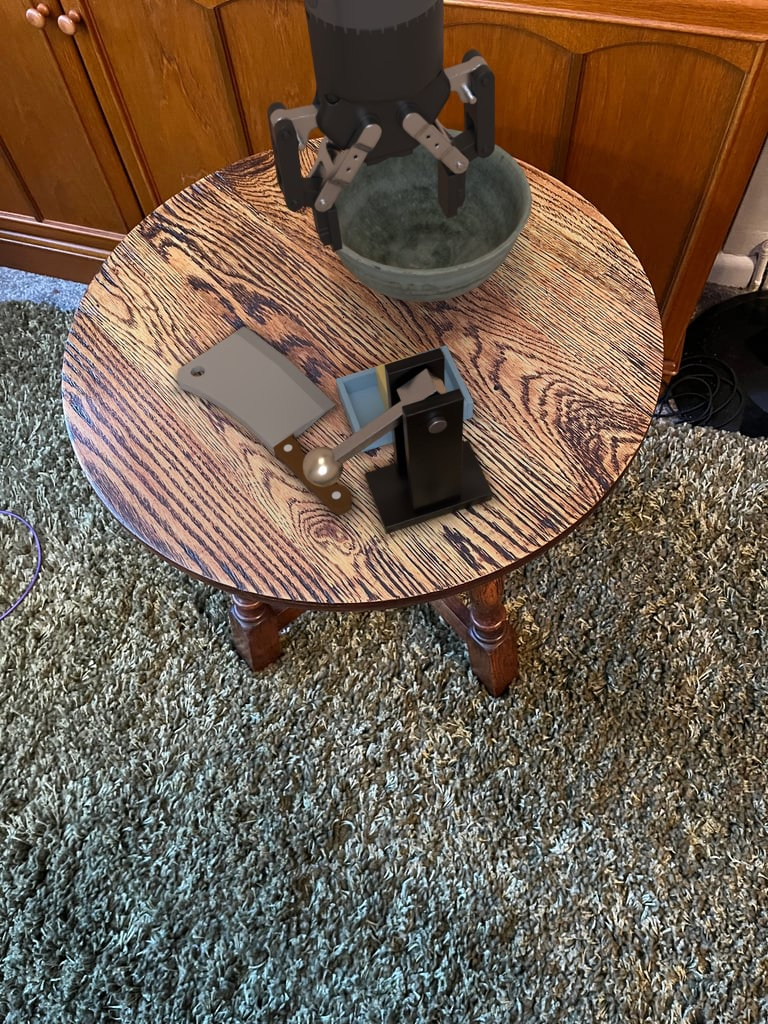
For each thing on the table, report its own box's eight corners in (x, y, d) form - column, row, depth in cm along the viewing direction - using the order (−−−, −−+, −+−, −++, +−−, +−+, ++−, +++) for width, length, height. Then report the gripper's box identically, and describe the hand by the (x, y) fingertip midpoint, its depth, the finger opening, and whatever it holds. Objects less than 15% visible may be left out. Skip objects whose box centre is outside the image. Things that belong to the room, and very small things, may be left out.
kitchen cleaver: (405, 462, 70) (320, 527, 67) (405, 468, 71) (321, 532, 68) (247, 319, 80) (166, 370, 77) (249, 326, 81) (169, 377, 77)
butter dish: (360, 453, 72) (357, 438, 70) (338, 394, 75) (335, 378, 73) (472, 417, 73) (473, 401, 71) (446, 361, 76) (446, 344, 74)
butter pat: (391, 424, 72) (388, 399, 69) (378, 392, 74) (375, 366, 71) (431, 412, 73) (430, 386, 69) (417, 380, 75) (416, 353, 71)
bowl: (289, 291, 82) (270, 215, 73) (404, 178, 89) (399, 96, 80) (451, 377, 75) (451, 305, 66) (561, 247, 82) (575, 166, 73)
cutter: (385, 534, 68) (370, 434, 54) (365, 479, 70) (345, 370, 56) (492, 499, 68) (504, 392, 55) (468, 446, 71) (473, 331, 57)
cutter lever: (325, 498, 62) (300, 488, 59) (314, 467, 63) (290, 455, 61) (457, 409, 57) (436, 393, 55) (442, 377, 59) (421, 360, 56)
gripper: (473, -83, 43) (465, 168, 57) (227, -22, 42) (282, 219, 56) (526, -16, 40) (504, 234, 54) (259, 54, 38) (309, 290, 53)
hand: (390, 226), depth 55 cm, fingers open, 8 cm apart
